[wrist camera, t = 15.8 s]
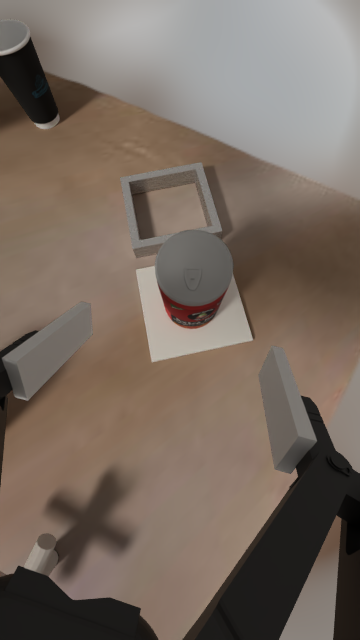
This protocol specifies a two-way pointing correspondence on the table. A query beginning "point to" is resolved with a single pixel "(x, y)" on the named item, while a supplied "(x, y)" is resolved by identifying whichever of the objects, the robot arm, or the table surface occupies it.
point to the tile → (182, 341)
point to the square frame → (161, 181)
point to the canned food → (193, 276)
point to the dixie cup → (26, 74)
